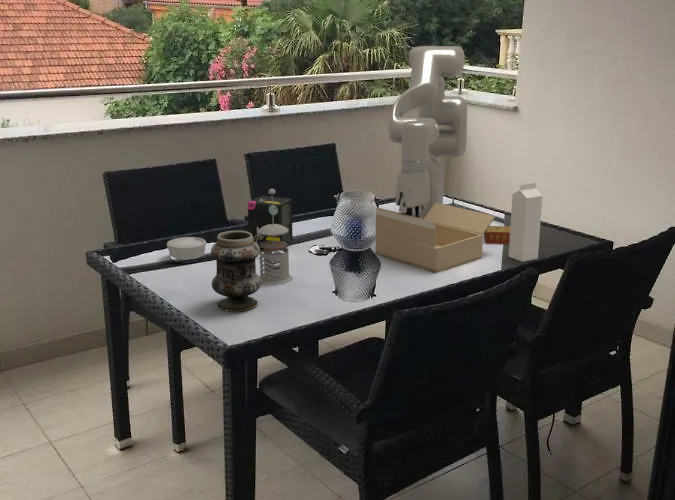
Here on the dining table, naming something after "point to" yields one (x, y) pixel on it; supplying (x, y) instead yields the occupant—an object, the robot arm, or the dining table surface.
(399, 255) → the kraft box
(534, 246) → the milk
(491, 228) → the carton
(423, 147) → the robot arm
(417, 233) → the near flap
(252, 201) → the tampon box
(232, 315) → the dining table surface
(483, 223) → the far flap
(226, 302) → the apothecary jar
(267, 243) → the french press
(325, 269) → the dining table surface
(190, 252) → the ramekin
